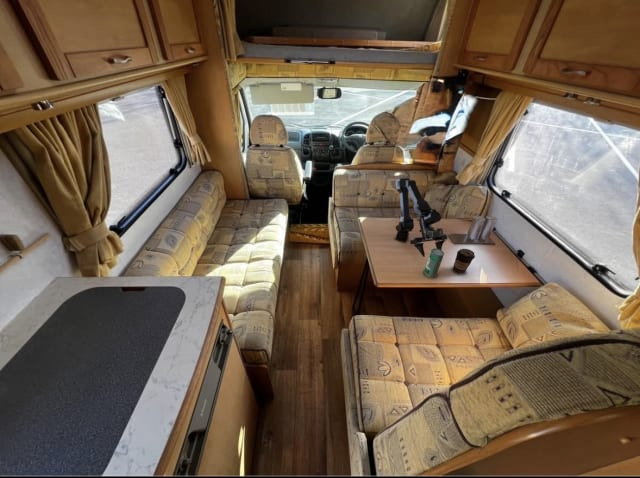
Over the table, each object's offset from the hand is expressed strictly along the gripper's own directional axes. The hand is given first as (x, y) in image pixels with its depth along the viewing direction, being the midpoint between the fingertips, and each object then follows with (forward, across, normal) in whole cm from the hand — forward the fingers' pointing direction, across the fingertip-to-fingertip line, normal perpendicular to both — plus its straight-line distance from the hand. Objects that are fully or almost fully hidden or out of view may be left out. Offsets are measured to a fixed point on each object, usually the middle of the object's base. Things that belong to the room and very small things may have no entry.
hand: (432, 255), depth 136 cm
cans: (-8, +47, +21) cm, 52 cm away
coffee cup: (+10, +17, +5) cm, 20 cm away
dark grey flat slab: (-8, +43, +22) cm, 49 cm away
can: (+10, 0, +5) cm, 11 cm away
